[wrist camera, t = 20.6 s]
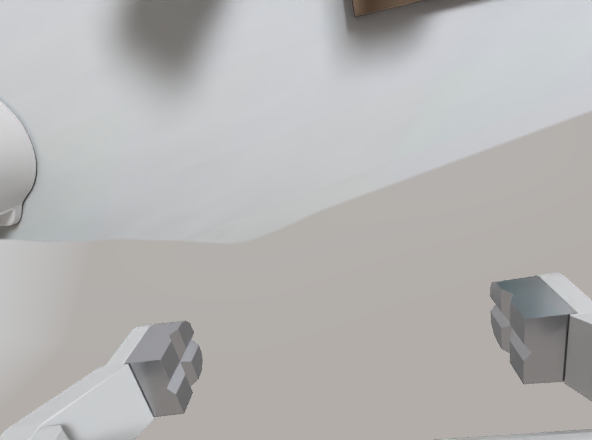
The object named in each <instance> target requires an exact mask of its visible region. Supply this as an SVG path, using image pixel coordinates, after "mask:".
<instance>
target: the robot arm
mask: <svg viewBox="0 0 592 440" xmlns="http://www.w3.org/2000/svg"><path fill="white" fill-rule="evenodd" d="M35 175H36V159H35V154H34V150H33V146H32V144H31V141H30V139H29V136H28V134H27V133H26V131H25V129H24V127H23V126H22V124H21V123H20V121H19V120H18V119H17V117H16V116H15V115H14V114H13V113H12V112H11V110H10V109H9V108H8V107H7V106H5V105H4V104H3V103H2V102H1V101H0V226H10V225H13V224H16V223H18V222H19V221H20V218H21V212H22V203H23V201H24V199H25V197H26V196H27V195H28V193H29V192H30V190H31V188H32V186H33V183H34V180H35ZM490 297H491V298H492V300H493V301H494V302H495V304H496V305H495V306H494V307H493V309H492V310H491V324H492V328H493V332H494V335H495V337H496V339H497V342H498V344H499V345H500V347H501V349H503V350H505V351H507V352H508V353H510V363H511V365H512V367H513V368H514V370H515V371H516V373H517V375H518V376H519V378H520V379H521V381H522V383H523V384H534V383H551V382H565V384H566V385H568V386H569V387H571V388H572V389H574V390H575V391H577V392H578V393H580V394H581V395H583V396H584V397H586V398H587V399H589V400H590V401H592V300H591V299H590V298H589V297H587V296H586V295H585V294H584V293H583V292H582V291H581V290H579V289H578V288H577V287H576V286H575V285H574V284H572V283H571V282H570V281H569V280H568V279H567V278H566V277H565V276H563V275H562V274H560V273H557V272H555V273H549V274H543V275H537V276H533V277H526V278H519V279H512V280H504V281H497V282H492V283H491V287H490ZM193 334H194V331H193V329H192V327H191V324H190V323H189V322H187V321H178V322H169V323H159V324H150V325H143V326H138V327H135V328H134V329H133V330H132V331H131V333H130V334H129V335H128V337H127V338H126V339H125V340H124V342H123V343H122V344H121V346H120V347H119V348H118V350H117V351H116V352H115V354H114V355H113V356H112V358H111V359H110V360H109V362H108V363H107V364H106V366H104V367H99V368H98V369H96V370H95V371H93V372H92V373H90V374H89V375H87V376H85V377H84V378H82V379H81V380H80V381H78V382H77V383H75V384H73V385H72V386H70V387H69V388H67V389H66V390H64V391H63V392H61V393H60V394H58V395H57V396H55V397H54V398H52V399H51V400H49V401H48V402H46V403H45V404H43V405H42V406H40V407H39V408H37V409H36V410H34V411H33V412H31V413H29V414H28V415H27V416H25V417H23V418H22V419H20V420H19V421H18V422H16V423H14V424H13V425H11V426H10V427H8V428H7V429H6V430H5V431H4V432H3V434H2V435H1V436H0V440H134V439H135V438H136V437H137V436H138V435H139V434H140V433H141V432H142V431H143V430H144V429H145V428H146V427H147V426H148V424H149V423H150V422H151V421H152V420H153V419H154V417H159V416H167V415H176V414H183V413H184V412H185V410H186V407H187V405H188V403H189V400H190V398H191V396H192V393H193V392H192V390H191V387H190V386H191V385H193V384H194V383H195V382H196V381H197V380H198V379H199V376H200V374H201V371H202V353H201V350H200V347H199V345H198V344H197V343H195V342H194V341H192V340H191V339H192V336H193ZM437 440H592V429H585V430H570V431H556V432H542V433H528V434H512V435H497V436H483V437H467V438H452V439H437Z"/></svg>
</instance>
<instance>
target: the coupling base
mask: <svg viewBox="0 0 592 440" xmlns="http://www.w3.org/2000/svg"><path fill="white" fill-rule="evenodd" d="M420 1H424V0H352V2H353V10H354V17H358V16H362V15H366V14H370V13H374V12H379V11H383V10H387V9H391V8H395V7H399V6H403V5H408V4H412V3H416V2H420Z"/></svg>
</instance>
